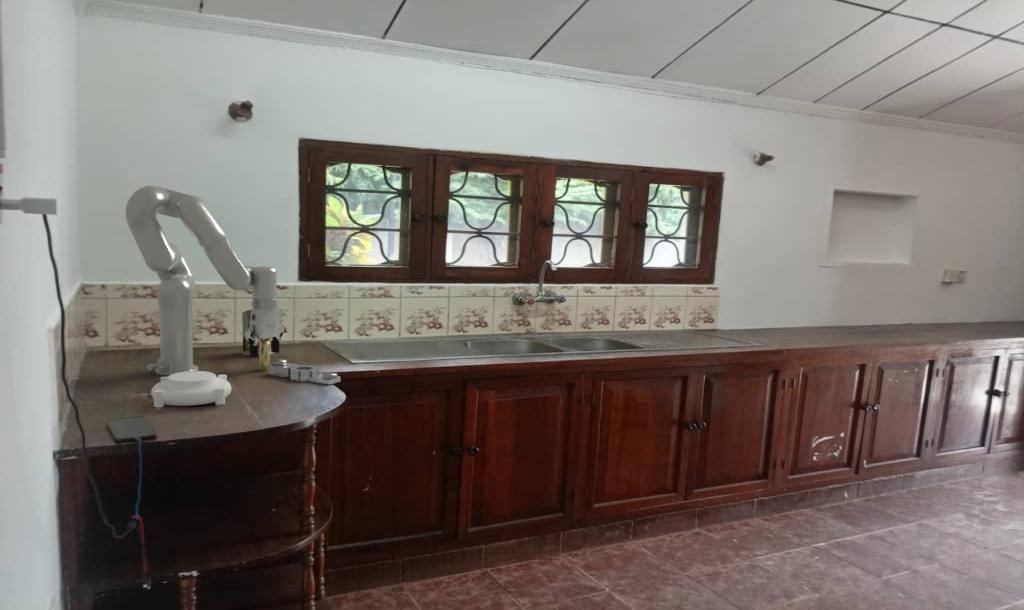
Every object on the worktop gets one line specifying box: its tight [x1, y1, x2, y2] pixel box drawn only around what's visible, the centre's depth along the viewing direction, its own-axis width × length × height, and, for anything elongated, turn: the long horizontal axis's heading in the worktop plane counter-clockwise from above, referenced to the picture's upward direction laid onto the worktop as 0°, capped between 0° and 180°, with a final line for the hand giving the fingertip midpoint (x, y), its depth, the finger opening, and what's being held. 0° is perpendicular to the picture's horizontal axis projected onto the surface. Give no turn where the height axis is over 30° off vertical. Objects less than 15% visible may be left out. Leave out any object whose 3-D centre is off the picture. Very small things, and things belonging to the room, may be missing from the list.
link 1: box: [268, 358, 320, 378], centre depth 231 cm, size 9×17×4 cm, turn 65°
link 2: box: [289, 371, 341, 385], centre depth 227 cm, size 9×17×3 cm, turn 65°
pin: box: [259, 338, 271, 372], centre depth 237 cm, size 4×4×12 cm
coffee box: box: [241, 309, 274, 357], centre depth 260 cm, size 9×6×16 cm
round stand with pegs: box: [150, 370, 232, 408], centre depth 199 cm, size 24×24×7 cm
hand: (264, 354), depth 237 cm, fingers open, 9 cm apart
